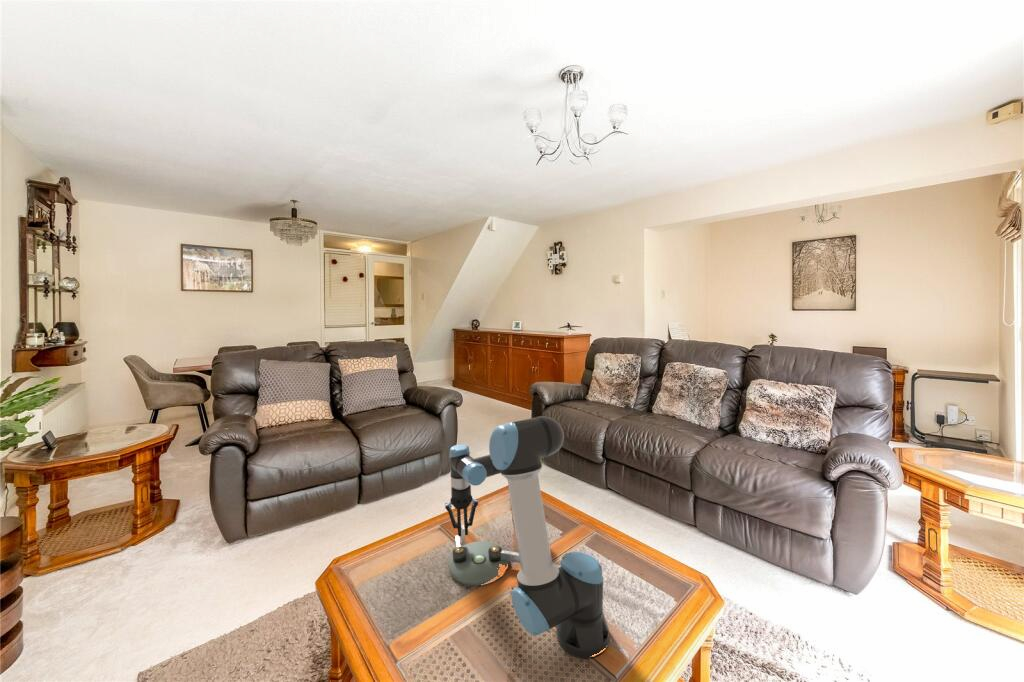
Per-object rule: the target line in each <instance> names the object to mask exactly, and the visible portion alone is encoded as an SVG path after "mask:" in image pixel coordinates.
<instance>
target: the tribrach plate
mask: <svg viewBox="0 0 1024 682" xmlns="http://www.w3.org/2000/svg"><path fill="white" fill-rule="evenodd" d="M465 544H466V545H461V547H464V548H465V549H466V560H465V561H464V562H461V563H456V562H454V561H453V553H452V554H451V556H450V558H449V560H448V561H449V563H448V568H449V573H450V576H451V577H452V578H453V579H454V580H455V581H456V582H458V583H460V584H461V585H465V586H468V587H469V586H470V587H479V586H478V585H481V584H484V583H486V582H488V581H490V580H491V579H493V578H494V577H496V576H497V575H498V570H499V568H500V567H499V564H502V565H505V567H506V566H507V564H508V563H509V564H510V561H505V560H500V561H498V562H491V561H490V560H489V553H488V550H489V548H490V547H492V546H499V547H501V548H502V550H505V551H507V550H506V549H505V548H504V547H503V546H502V545H500V544H498V543H495V542H493V541H486V540H485V541H483V540H481V541H479V540H478V541H473V542H468V543H465ZM497 568H498V569H497Z"/></svg>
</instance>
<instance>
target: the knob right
mask: <svg viewBox="0 0 1024 682" xmlns="http://www.w3.org/2000/svg"><path fill="white" fill-rule="evenodd" d="M505 550H506V549H505ZM505 550H502V548H501V547H499V546H492V547H490V548H489V550H488V553H489V560H490V561H491V562H498V561H500V560H505V561H509V562H513V563H518V564H520V557H519V552H517V551H510V550H506V551H505Z"/></svg>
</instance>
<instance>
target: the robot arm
mask: <svg viewBox="0 0 1024 682" xmlns="http://www.w3.org/2000/svg"><path fill="white" fill-rule="evenodd" d="M564 441H565V432H564V429H563V427H562V425H561V424H560V423H559V422H558V421H557V420H556V419H554V418H552V417H549V416H544V415H542V416H541V415H539V416H534V417H531V418H526V419H521V420H515V421H511V422H506V423H504V424H500V425H497V426H496V427H495V428H494V429H493V431H492V432H491V434H490V438H489V441H488V442H489V443H488V444H489V445H488V449H489V454H487V455H483V456H480V457H475V458H473V456H471V455H470V454H471V451H470V447H469V446H468V445H467V444H454V445H453V446H451V447H450V448H449V468H450V469H449V471H450V491H451V492H450V493H451V496H450V500H449V502H445V503H444V507H445V510H446V511H447V513H448V515H449V518H450V521H451V525H452V528H453V529H457V535H458V536H459V537H460V544H461V546H463V545H466V544H467V543H466V536H468V534H469V527H471V526H473V522H474V518H475V512H476V509H477V506H478V505H479V500H478V499H477V498H473V495H472V486H480V485H481V484H483V482H485V480H486V479H487V478H489V477H492V476H496V475H499V474H500V475H501V476H502V477H503V478H505V479H506V480H507V485H508V492H509V499H510V504H511V511H512V519H513V522H514V523H513V524H514V529H515V537H516V538H515V539H516V543H517V548H518V549H517V550H518V553H519V557H520V563H519V564H520V570H519V571H518V573H517V575H516V580H517V586H516V587H514V588H513V589H512V590H511V595H510V597H511V603H512V607H513V610H514V612H515V615H516V617H517V618H518V620H519V623H521V625H522V627H523V628H524V630H526V631H527V633H528V634H530V635H532V636H540V635H542V634H544V633H546V632H547V633H548V632H549V631H550V630H551V629H553V628H555V630H556V632H555V634H556V639H557V641H558V644H559V645H560V647H561V648H562V649H563V650H564V651H565V652H567V653H568V654H570V655H571V656H573V657H577V658H579V659H580V658H581V659H590V658H589V657H590V656H592V655H594V654H597V653H599V652H600V651H601V650H603V649H604V648H606V646H607V645H608V646H609V644H610V630H609V625H608V623H607V620H606V617H605V613H604V611H603V609H604V603H603V602H604V577H603V568H602V565H601V563H600V562H599V561H598V560H597V559H596V558H595V557H594V556H592V555H590V554H589V553H585V552H581V551H570V552H567V553H565V554H564V555H563V556H562V557H561V560H560V561H559V562H560V566H559V567H558V566H557V565H556V564H554V562H553V557H552V552H551V548H550V547H551V545H550V541H549V534H548V529H547V521H546V516H545V509H544V504H543V498H542V492H541V485H540V479H539V473H540V472H541V470H542V469H543V465H542V459H544V458H547V457H550V456H552V455H554V454H556V453H557V452H558V451H560V449H562V446H563V445H564ZM470 505H471V508H470V513H469V517H468V508H469V506H470ZM452 507H454V508H455V510H456V519H457V520H456V519H455V516H454V513H453V509H452ZM461 510H463V524H462V518H461Z"/></svg>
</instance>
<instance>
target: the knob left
mask: <svg viewBox="0 0 1024 682" xmlns="http://www.w3.org/2000/svg"><path fill="white" fill-rule="evenodd" d="M454 537H455V538H454V540H455V547H454V548H453V549H452V554H453V561H454V562H456V563H461V562H464V561H465V560H466V549H465V548H464V547H461V546H462V544H461V536H458V534H457V535H455V536H454Z"/></svg>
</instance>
